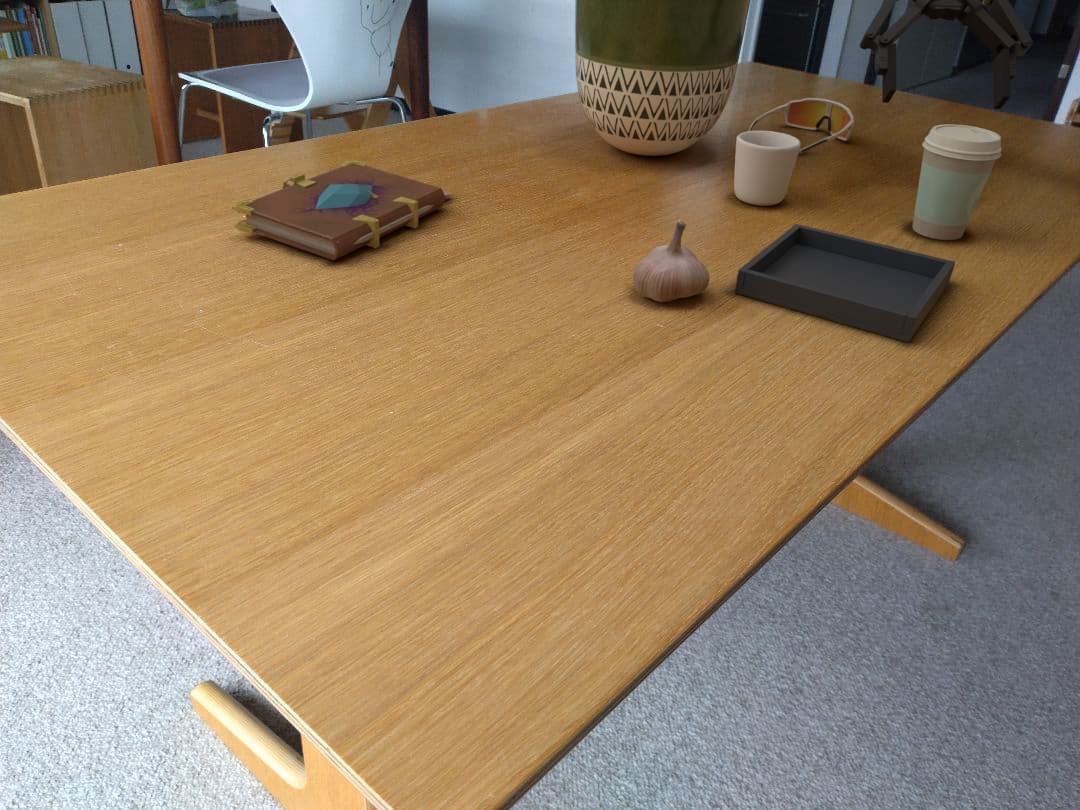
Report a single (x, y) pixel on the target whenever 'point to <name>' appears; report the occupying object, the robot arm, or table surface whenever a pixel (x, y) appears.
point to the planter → (656, 68)
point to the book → (339, 209)
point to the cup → (764, 166)
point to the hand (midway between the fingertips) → (945, 100)
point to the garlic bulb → (670, 271)
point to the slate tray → (847, 280)
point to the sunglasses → (816, 118)
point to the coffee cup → (953, 178)
